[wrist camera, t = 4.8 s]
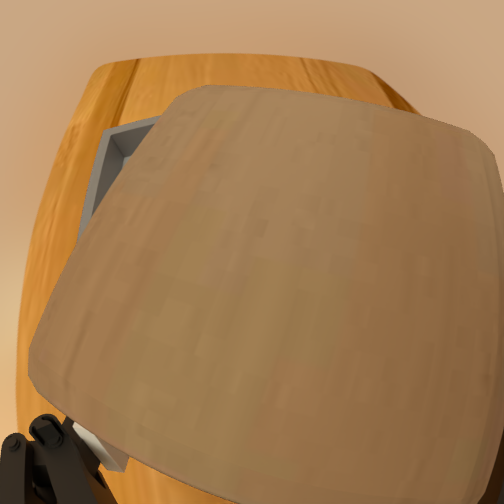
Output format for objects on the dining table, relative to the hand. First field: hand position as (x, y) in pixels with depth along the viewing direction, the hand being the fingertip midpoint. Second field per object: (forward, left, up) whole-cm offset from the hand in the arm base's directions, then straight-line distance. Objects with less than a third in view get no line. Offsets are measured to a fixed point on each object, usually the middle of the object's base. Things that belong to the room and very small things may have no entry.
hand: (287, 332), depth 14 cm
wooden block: (0, +1, -11) cm, 11 cm away
